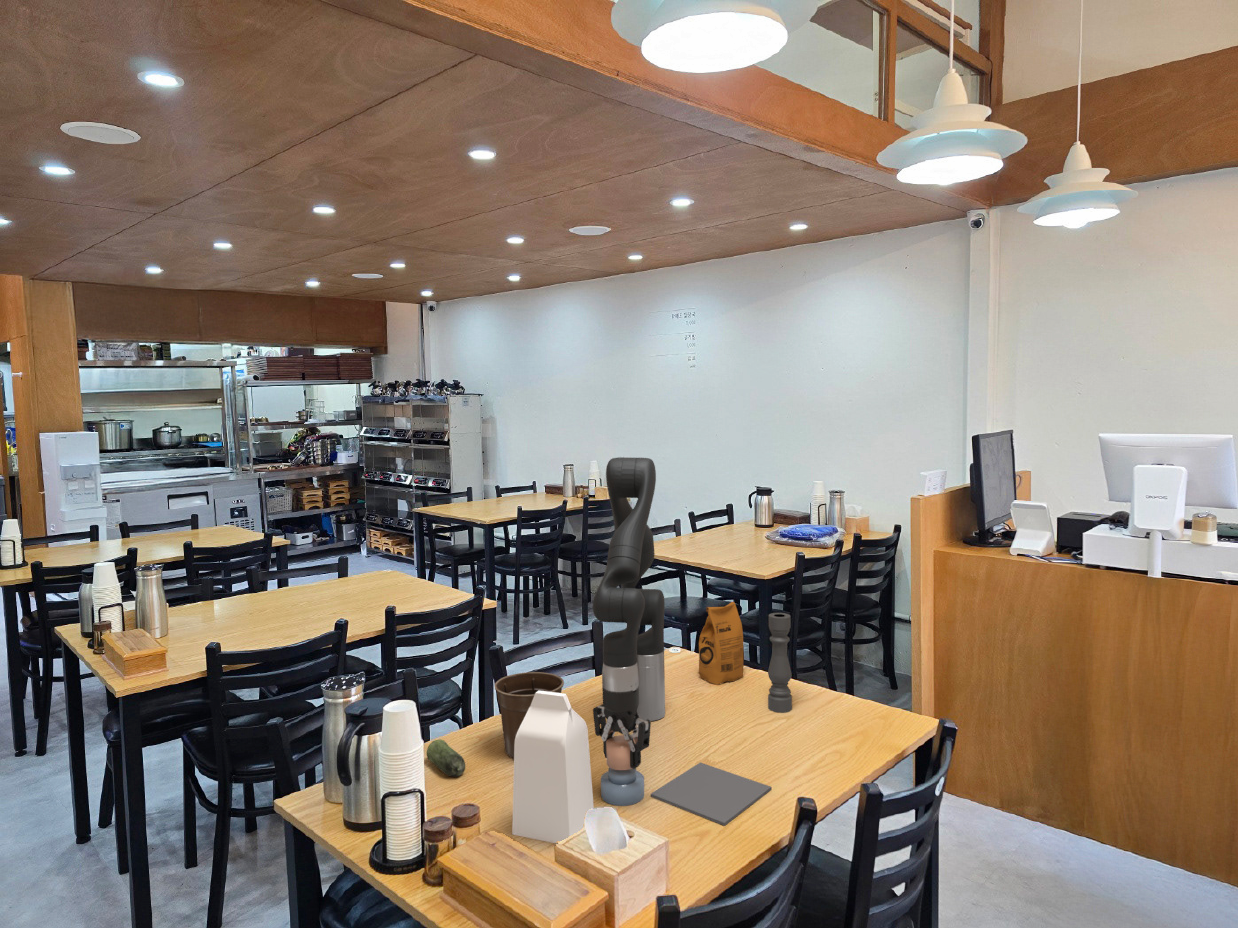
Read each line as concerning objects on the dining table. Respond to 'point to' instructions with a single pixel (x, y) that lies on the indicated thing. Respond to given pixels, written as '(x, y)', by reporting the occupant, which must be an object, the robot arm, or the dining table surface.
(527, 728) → the milk
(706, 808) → the mat
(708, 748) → the dining table surface
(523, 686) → the plant pot
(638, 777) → the sugar pot
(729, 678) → the coffee package
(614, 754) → the lid
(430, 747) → the vegetable
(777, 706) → the candle holder
